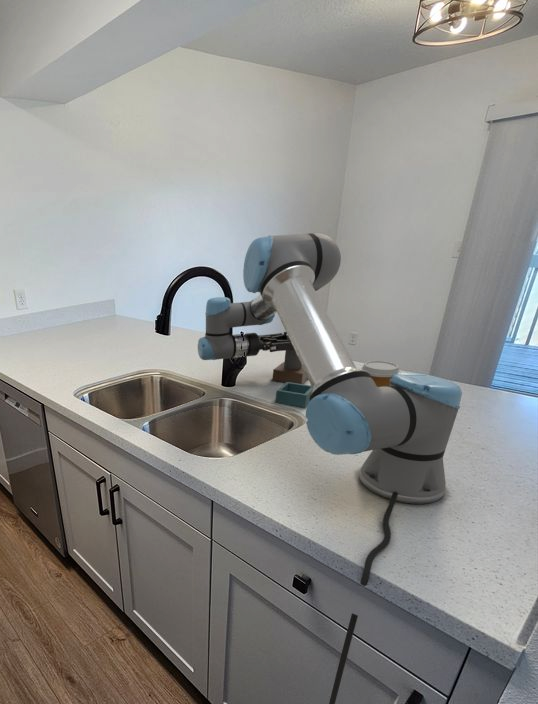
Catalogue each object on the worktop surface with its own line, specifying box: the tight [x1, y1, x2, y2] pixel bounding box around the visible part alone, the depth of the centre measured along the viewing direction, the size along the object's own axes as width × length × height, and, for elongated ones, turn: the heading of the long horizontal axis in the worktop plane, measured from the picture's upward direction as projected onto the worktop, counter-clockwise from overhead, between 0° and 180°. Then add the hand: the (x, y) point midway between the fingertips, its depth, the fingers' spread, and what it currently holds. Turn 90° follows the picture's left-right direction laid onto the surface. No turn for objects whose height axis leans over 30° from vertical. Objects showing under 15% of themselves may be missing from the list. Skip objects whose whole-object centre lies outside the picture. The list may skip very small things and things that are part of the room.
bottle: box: [283, 337, 302, 370], centre depth 147 cm, size 6×6×15 cm
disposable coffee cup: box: [361, 360, 400, 387], centre depth 126 cm, size 10×10×12 cm
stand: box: [271, 361, 309, 384], centre depth 151 cm, size 10×10×4 cm
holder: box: [274, 382, 313, 409], centre depth 133 cm, size 9×9×4 cm
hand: (310, 338), depth 146 cm, fingers closed on bottle, 6 cm apart
